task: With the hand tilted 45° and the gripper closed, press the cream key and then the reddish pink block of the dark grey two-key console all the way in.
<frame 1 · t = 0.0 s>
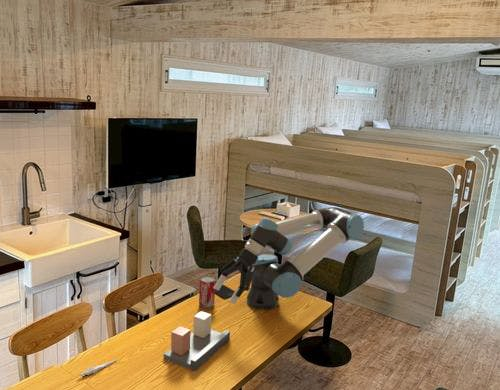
hand: (223, 295, 186), 15 cm above the table, tool tilted 35°, fingers open, 13 cm apart
reddish pink block: (180, 340, 169), point 6 cm above the table, slide at 0.0 cm
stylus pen: (99, 370, 160), on the table
key cream: (202, 324, 181), point 6 cm above the table, slide at 0.0 cm
soda can: (206, 305, 210), on the table
console: (198, 349, 175), on the table
cell phone: (220, 291, 226), on the table
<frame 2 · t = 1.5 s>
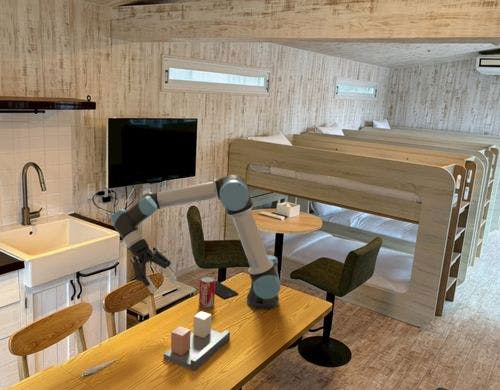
hand: (164, 286, 186), 18 cm above the table, tool tilted 45°, fingers open, 12 cm apart
nothing on the table moved.
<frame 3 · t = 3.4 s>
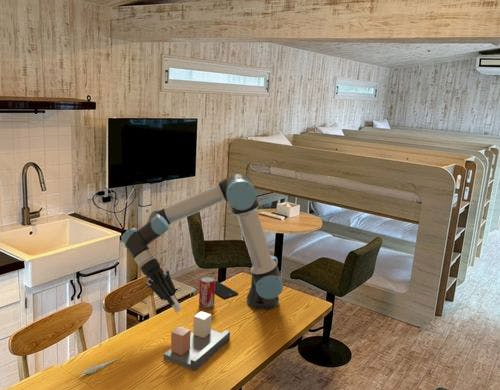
hand: (179, 310, 184), 9 cm above the table, tool tilted 45°, fingers closed
nothing on the table moved.
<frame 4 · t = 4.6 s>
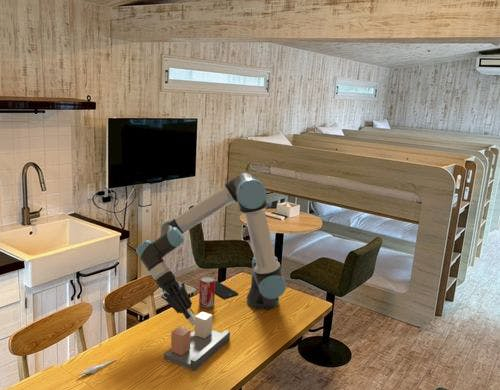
hand: (195, 323, 182), 6 cm above the table, tool tilted 45°, fingers closed
key cream: (203, 324, 180), point 6 cm above the table, slide at 0.5 cm, touching gripper
everything else where it was.
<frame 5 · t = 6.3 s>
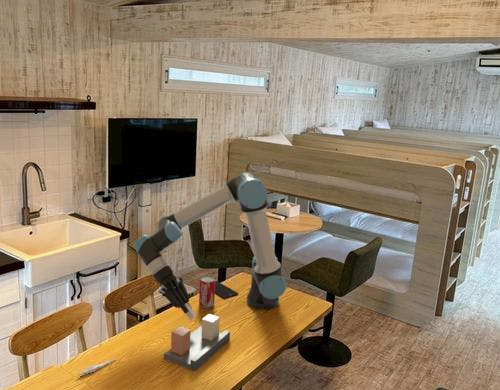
hand: (193, 318, 181), 8 cm above the table, tool tilted 45°, fingers closed
key cream: (210, 327, 179), point 6 cm above the table, slide at 3.9 cm
everything else where it was.
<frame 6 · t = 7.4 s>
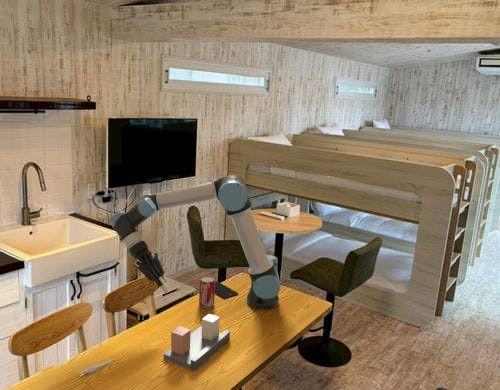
hand: (167, 291, 186), 16 cm above the table, tool tilted 45°, fingers closed
nothing on the table moved.
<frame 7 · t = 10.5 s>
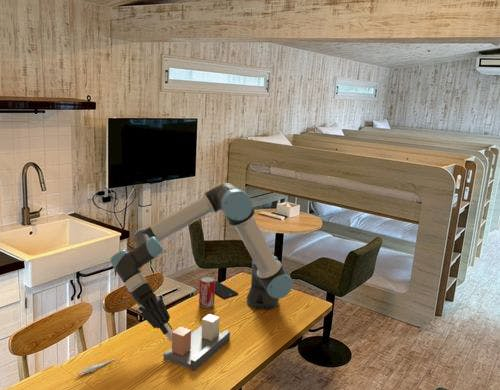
hand: (173, 339, 170), 6 cm above the table, tool tilted 45°, fingers closed
reddish pink block: (181, 340, 168), point 6 cm above the table, slide at 0.3 cm, touching gripper
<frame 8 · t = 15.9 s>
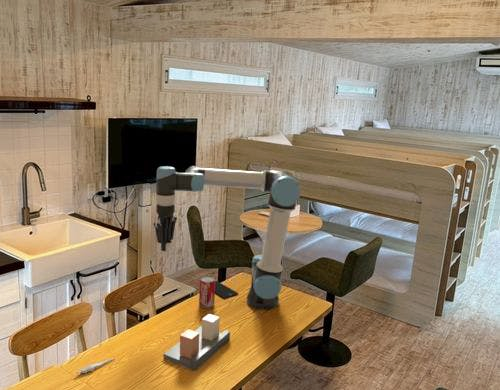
hand: (165, 257, 194), 26 cm above the table, tool pointing down, fingers closed
reddish pink block: (189, 343, 167), point 6 cm above the table, slide at 4.0 cm
at the end: key cream slide at 3.9 cm; reddish pink block slide at 4.0 cm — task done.
